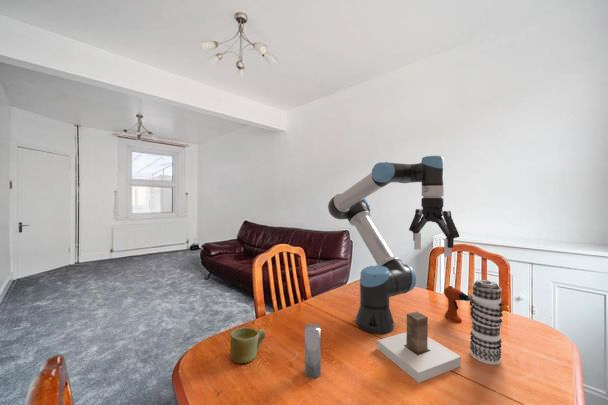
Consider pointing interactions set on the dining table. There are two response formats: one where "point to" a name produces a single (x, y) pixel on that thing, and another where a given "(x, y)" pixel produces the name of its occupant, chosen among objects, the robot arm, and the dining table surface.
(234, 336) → the mug
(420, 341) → the square peg
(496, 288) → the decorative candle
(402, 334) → the socket plate
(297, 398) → the dining table surface
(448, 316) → the toy drill
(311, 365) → the round peg
